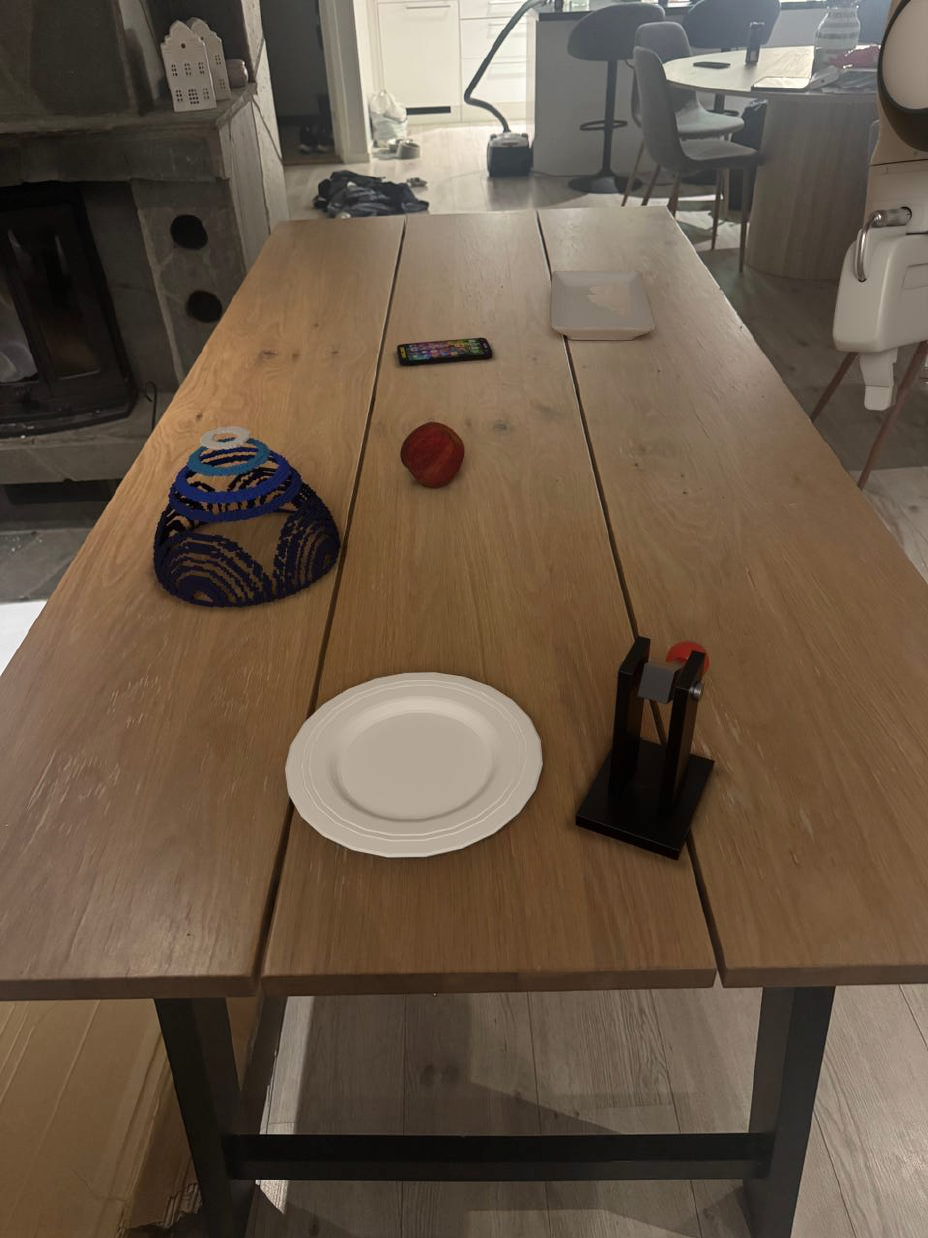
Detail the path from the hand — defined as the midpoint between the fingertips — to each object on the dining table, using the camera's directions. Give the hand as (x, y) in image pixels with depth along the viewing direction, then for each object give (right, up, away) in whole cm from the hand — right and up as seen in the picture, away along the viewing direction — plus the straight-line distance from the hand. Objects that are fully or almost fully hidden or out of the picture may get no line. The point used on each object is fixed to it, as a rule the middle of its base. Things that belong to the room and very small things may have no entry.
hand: (906, 399), depth 73 cm
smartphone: (-38, +26, +78) cm, 90 cm away
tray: (-11, +36, +91) cm, 98 cm away
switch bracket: (-20, -31, 0) cm, 37 cm away
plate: (-39, -30, +4) cm, 49 cm away
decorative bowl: (-59, -10, +31) cm, 67 cm away
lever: (-19, -23, -2) cm, 30 cm away
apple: (-38, 0, +43) cm, 58 cm away
